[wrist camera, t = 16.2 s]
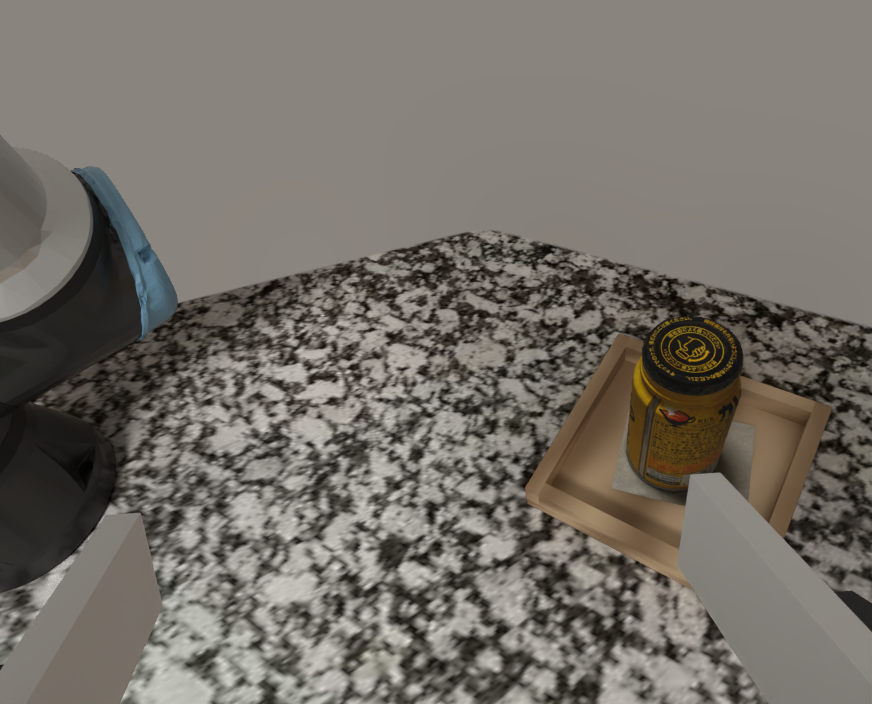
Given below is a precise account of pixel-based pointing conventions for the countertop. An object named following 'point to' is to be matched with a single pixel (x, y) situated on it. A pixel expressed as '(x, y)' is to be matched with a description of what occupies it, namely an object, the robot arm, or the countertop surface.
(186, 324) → the countertop surface
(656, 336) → the condiment
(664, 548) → the tray
